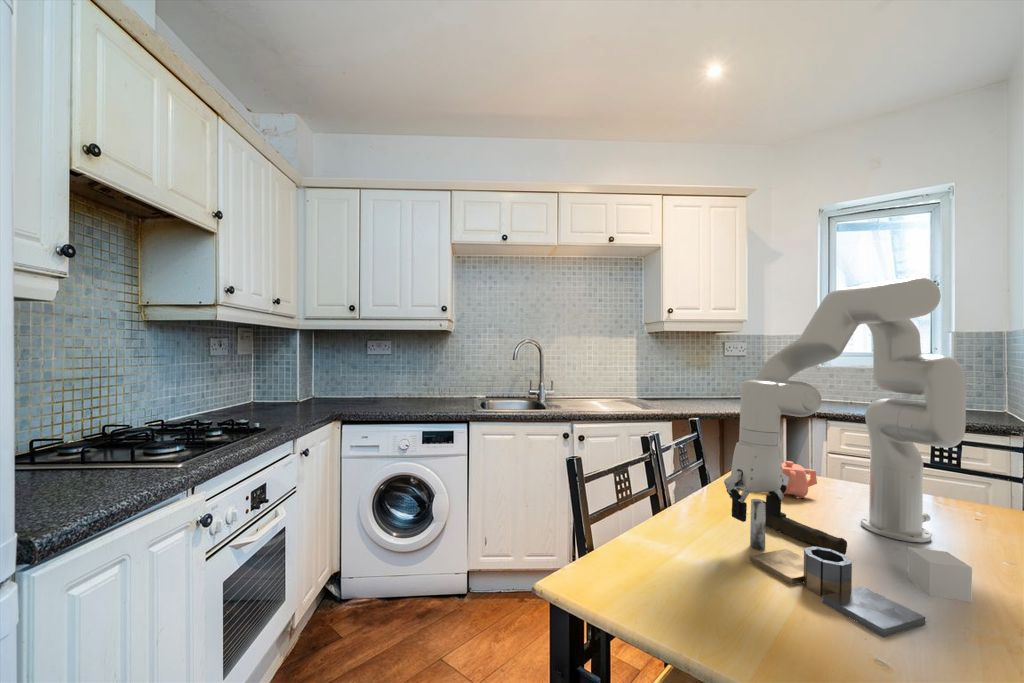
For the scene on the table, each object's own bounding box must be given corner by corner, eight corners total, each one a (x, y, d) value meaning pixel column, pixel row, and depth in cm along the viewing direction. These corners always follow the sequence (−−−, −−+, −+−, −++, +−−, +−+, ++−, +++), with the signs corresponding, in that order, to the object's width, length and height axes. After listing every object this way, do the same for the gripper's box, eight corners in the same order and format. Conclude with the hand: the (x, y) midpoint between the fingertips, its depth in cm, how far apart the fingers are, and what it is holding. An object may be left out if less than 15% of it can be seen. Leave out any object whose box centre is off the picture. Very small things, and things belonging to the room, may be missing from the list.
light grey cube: (946, 584, 80) (947, 551, 80) (971, 602, 74) (972, 567, 74) (907, 578, 82) (908, 546, 82) (929, 596, 76) (929, 562, 76)
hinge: (785, 554, 90) (786, 525, 90) (925, 624, 68) (926, 586, 68) (749, 561, 87) (749, 531, 87) (883, 637, 64) (884, 596, 64)
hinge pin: (756, 543, 95) (757, 498, 95) (768, 549, 92) (769, 502, 92) (747, 545, 94) (748, 499, 94) (758, 551, 91) (759, 504, 91)
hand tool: (849, 557, 90) (849, 535, 90) (836, 559, 89) (836, 537, 89) (767, 522, 108) (768, 503, 108) (755, 523, 106) (756, 505, 107)
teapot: (756, 489, 132) (756, 458, 133) (785, 486, 136) (785, 455, 136) (791, 502, 121) (791, 468, 122) (821, 498, 125) (822, 465, 125)
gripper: (773, 433, 99) (770, 507, 99) (714, 435, 94) (711, 514, 93) (804, 440, 92) (801, 520, 92) (742, 442, 87) (739, 528, 86)
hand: (756, 517), depth 93 cm, fingers open, 9 cm apart
